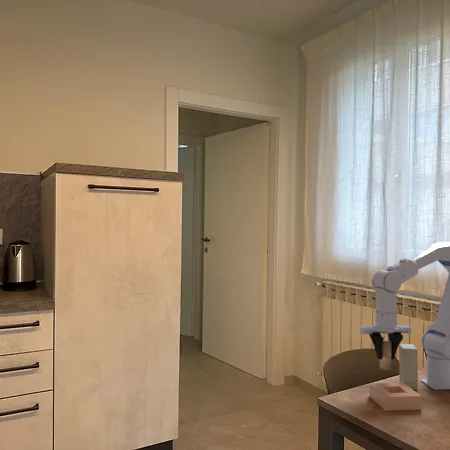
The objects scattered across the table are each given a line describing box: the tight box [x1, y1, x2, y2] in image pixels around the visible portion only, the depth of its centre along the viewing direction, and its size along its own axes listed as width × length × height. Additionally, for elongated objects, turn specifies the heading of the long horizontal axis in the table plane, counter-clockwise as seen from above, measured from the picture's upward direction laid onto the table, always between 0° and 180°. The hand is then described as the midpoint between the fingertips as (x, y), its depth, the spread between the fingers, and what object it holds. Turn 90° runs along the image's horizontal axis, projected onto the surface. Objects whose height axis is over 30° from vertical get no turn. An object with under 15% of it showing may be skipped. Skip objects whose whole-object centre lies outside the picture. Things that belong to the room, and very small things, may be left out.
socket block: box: [369, 382, 423, 412], centre depth 123 cm, size 10×10×4 cm
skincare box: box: [398, 343, 419, 391], centre depth 136 cm, size 6×4×12 cm
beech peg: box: [379, 338, 392, 371], centre depth 131 cm, size 3×3×8 cm
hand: (385, 358), depth 131 cm, fingers closed on beech peg, 3 cm apart
